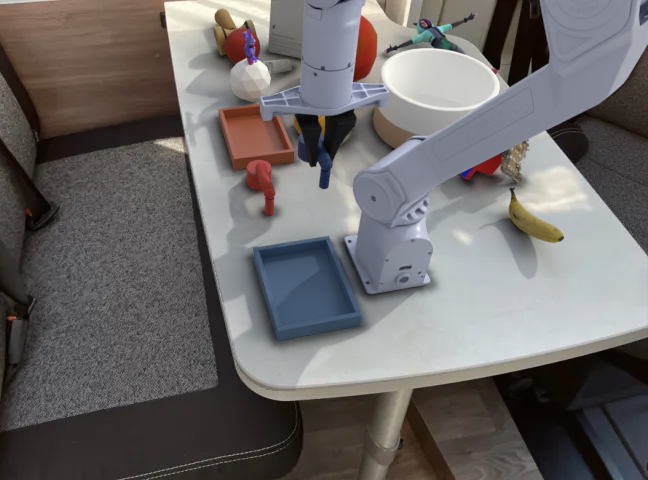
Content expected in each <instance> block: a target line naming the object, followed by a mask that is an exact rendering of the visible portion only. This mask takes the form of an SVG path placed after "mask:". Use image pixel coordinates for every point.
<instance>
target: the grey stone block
mask: <svg viewBox="0 0 648 480" xmlns="http://www.w3.org/2000/svg"><path fill="white" fill-rule="evenodd" d="M262 63H263V64H264V65H265V66H267V69H268V71H269V74H270V75H272V74H279V73H286V72H289V71H292V70H293V65H292V62H291V61H290V60H289V59H288V58H282V59H272V60H266V61H263V62H262Z"/></svg>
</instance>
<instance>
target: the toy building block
mask: <svg viewBox="0 0 648 480" xmlns="http://www.w3.org/2000/svg"><path fill="white" fill-rule="evenodd" d="M502 155H503V152H502V153H500V154H498V155H496V156H494V157H492V158H490V159H488V160H486V161H484V162H482V163H480V164H478V165H476V166H474V167H472V168H470V169H468V170H466V171H464V172H462V173H460V175H461V177H462V178H463V179H464V180H466V181H469V180H470V179H471V178H472V176H473V175H474V174H475V172H479V173H483V174H486V175H489V176H493V174H494V173H496V171H497V170H498V168H500V167H501V163H502V160H501V158H502Z"/></svg>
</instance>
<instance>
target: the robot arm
mask: <svg viewBox="0 0 648 480" xmlns="http://www.w3.org/2000/svg"><path fill="white" fill-rule="evenodd" d="M539 5H540V6H539V7H540V11H541V16H542V21H543V27H544V31H545V36H546V42H547V46H548V47H547V48H548V52H549V59H548V63H547V64H545V65H544V66H542V67H540V68H538V70H535V71H534V72H532V73H530V74H529V75H527V76H526V77H524V78H523V79H521V80H518V82H516V83H514V84H513V85H511V86H510V87H508V88H506V89H504V90H503V91H502V92H499V94H498V95H497V96H495V97H493V98H492V99H490V100H488V101H487V102H485V103H484V104H482V105H480V106H479V107H477V108H475V109H474V110H472V111H471V112H469V113H467V114H466V115H464V116H462V117H461V118H459V119H458V120H456V121H454V122H453V123H451V124H449V125H448V126H446V127H445V128H443V129H441V130H438V131H436V132H435V133H433V134H431V135H428V136H413V137H410V138H409V139H407V140H406V141H405V142H404V143H403V144H402V145H401V146H399V147H398V148H396V149H395V148H394V150H392V151H391V152H389V153H388V154H386V155H385V156H383V157H382V158H380V159H379V160H377V161H376V162H374V163H373V164H371V165H370V166H369V167H366V168H364V169H362V170H360V171H358V172H357V174H356V175H355V176H354V177H353V181H352V193H353V196H354V200H355V202H356V205H357V206H358V208H359V209H360V218H359V224H358V229H357V230H358V231H357V234H353V235H347V236H345V237H344V238H343V240H344V241H343V242H344V244H345V246H346V249H347V251H348V253H349V255H350V258H351V261H352V262H353V264H354V267H355V269H356V272H357V275H358V276H359V278H360V281H361V283H362V286H363V288H364V290H365V292H366V294H368V295H375V294H381V293H387V292H392V291H397V290H398V291H399V290H403V289H409V288H414V287H415V288H416V287H421V286H425V285H429V284H430V283H431V279H430V276H429V274H428V273H427V272H428V269H429V265H430V262H431V259H432V256H433V252H434V245H433V242H432V240H431V237H430V235H429V233H428V229H427V214H428V209H429V204H430V199H431V196H432V193H433V190H434V189H435V188H438V187H439V186H441V185H443V183H444V182H445V181H448V180H450V179H452V178H454V177H456V176H458V175H459V174H460V173H462V172H464V171H466V170H468V169H470V168H472V167H474V166H476V165H478V164H480V163H482V162H484V161H486V160H488V159H490V158H492V157H494V156H496V155H498V154H500V153H502V152H504V151H506V150H508V149H510V148H512V147H514V146H516V145H518V144H520V143H522V142H524V141H526V140H530V139H532V138H533V137H536V136H538V135H540V134H542V133H544V132H546V131H548V130H549V129H552V128H553V127H555V126H558V125H560V124H562V123H563V122H566V121H568V120H570V119H571V118H573V117H576V116H578V115H580V114H582V113H584V112H586V111H588V110H589V109H591V108H594V107H596V106H598V105H600V104H601V103H603V101H605V100H606V99H607V98H608V97H610V96H611V95H612V94H614V92H616V91H617V90H618V89H620V87H621V86H622V85H624V83H625V82H626V81H627V79H628V78H629V77H630V75H631V73H632V71H633V70H634V68H635V66H636V64H637V63H638V62H639V60H640V58H641V56H642V55H643V53H644V52H645V50H646V48H647V46H648V0H539ZM364 6H366V0H304V15H303V36H302V57H301V59H300V76H299V77H300V78H299V79H300V80H299V85H297V86H294V87H291V88H288V89H284V90H282V91H278V92H276V93H271V94H268V95H267V94H266V95H264V96H261V97H260V99H259V104H260V113H261V116H262V119H263V121H269V120H272V117H274V116H280V117H283V116H290V115H291V116H292V115H294V117H295V118H296V120H297V122H298V125H299V127H300V129H301V132H302V135H303V139H304V143H305V148H306V156H307V160H308V162H309V163H308V164H309V167H310V168H316V167H317V165H318V162H317V156H318V143H319V138H320V135H321V132H322V127H321V125H320V123H319V121H318V119H319V116H318V115H322V116H325V132H324V140H323V143H324V145H325V147H326V149H327V151H328V154H329V156H330V158H331V160H332V163H334V161H335V158H336V155H337V153H338V152H339V149H340V147H341V145H342V144H341V143H342V142H343V140H344V139H345V137H346V136H347V135H348V134H349V132H350V131H351V130H352V131H353V129H355V128H356V125H357V120H358V117H357V115H356V113H355V109H356V108H362V107H370V106H375V105H377V107H379V108H382V107H387V104H388V99H389V93H390V92H389V91H388V89H387V88H386V86H385V84H384V83H381V84H379V83H366V82H353V76H354V67H355V58H356V50H357V42H358V34H359V25H360V18H361V15H362V10H363V7H364ZM460 175H461V174H460Z"/></svg>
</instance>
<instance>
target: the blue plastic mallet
mask: <svg viewBox="0 0 648 480" xmlns="http://www.w3.org/2000/svg"><path fill="white" fill-rule="evenodd" d="M323 140H324V135H323V134H322V133H321V135H320V138H319V143H318V156H317V163H318V164H319V165H318V166H319V167H320V171H319V181H318V187H319V189H321V190H327V189H329V187H330V181H331V171H332V169H333V166H334V164H333V163H334V162H333V163H332V160H331V158H330V156H329V154H328V151H327V149H326V147H325V145H324V143H323ZM297 157H298V158H299V160H300V161H302V162H304V163H308V164H309V162H308V160H307V156H306V148H305V143H304V139H303V135H302V133H301V134H299V135H298V139H297Z"/></svg>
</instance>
